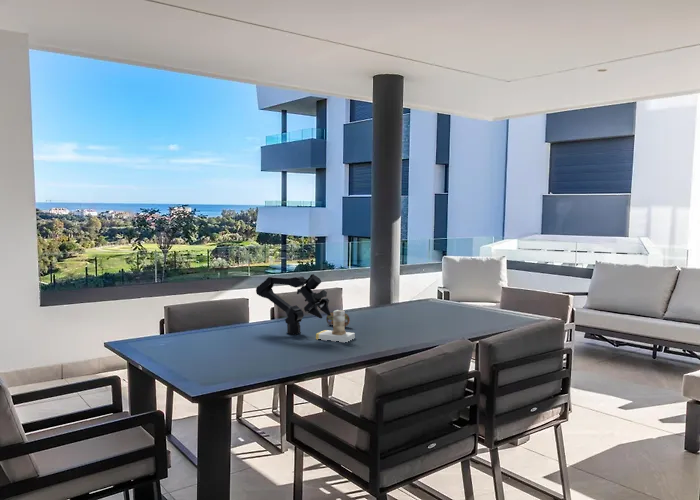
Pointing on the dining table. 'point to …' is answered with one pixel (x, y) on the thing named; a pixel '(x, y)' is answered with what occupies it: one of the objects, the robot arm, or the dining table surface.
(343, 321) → the beige tall block
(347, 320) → the tin
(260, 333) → the dining table surface
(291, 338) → the dining table surface
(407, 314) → the dining table surface
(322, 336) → the dock
